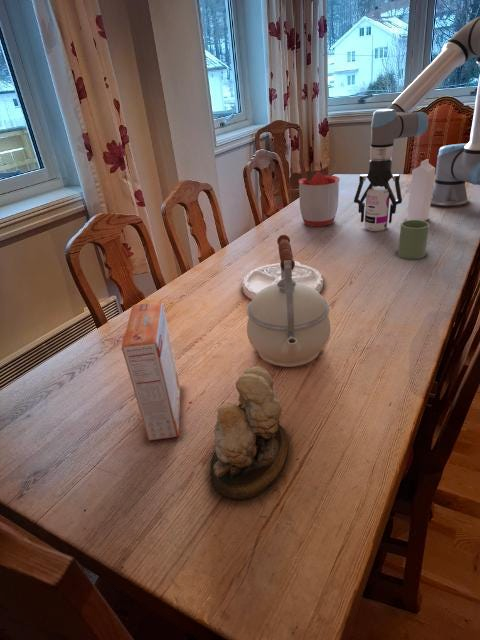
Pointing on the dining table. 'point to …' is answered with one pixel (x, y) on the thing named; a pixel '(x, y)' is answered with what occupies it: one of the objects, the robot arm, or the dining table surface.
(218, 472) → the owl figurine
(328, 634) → the dining table surface
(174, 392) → the cracker box
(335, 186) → the citrus juicer
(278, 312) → the kettle
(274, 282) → the divided serving plate
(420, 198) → the milk
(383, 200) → the supplement can
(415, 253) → the green cup
